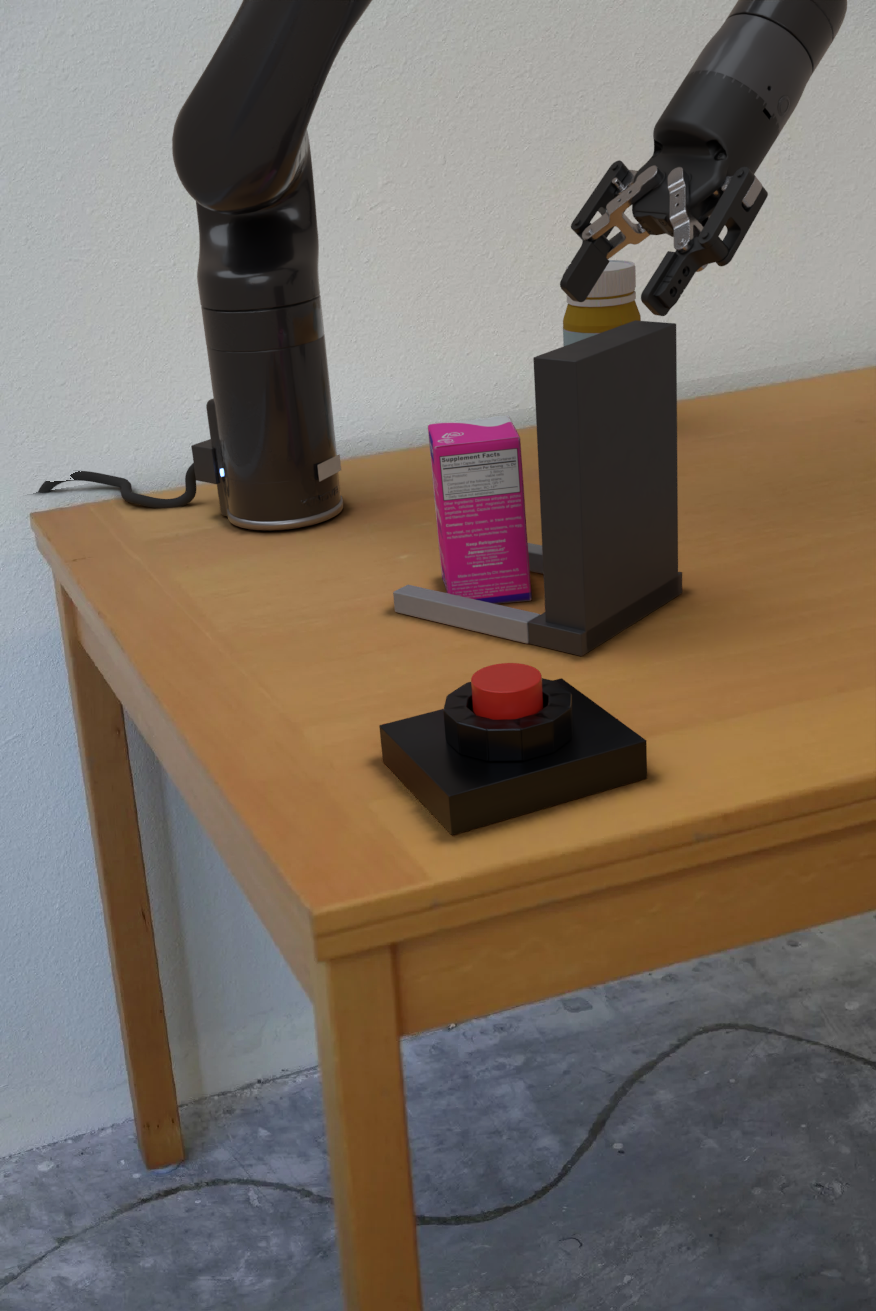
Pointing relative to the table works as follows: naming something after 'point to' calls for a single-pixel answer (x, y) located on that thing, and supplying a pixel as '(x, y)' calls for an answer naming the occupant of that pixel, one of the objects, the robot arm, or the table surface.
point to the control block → (511, 757)
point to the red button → (507, 691)
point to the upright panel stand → (593, 496)
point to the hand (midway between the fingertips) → (609, 301)
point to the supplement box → (480, 509)
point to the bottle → (603, 304)
